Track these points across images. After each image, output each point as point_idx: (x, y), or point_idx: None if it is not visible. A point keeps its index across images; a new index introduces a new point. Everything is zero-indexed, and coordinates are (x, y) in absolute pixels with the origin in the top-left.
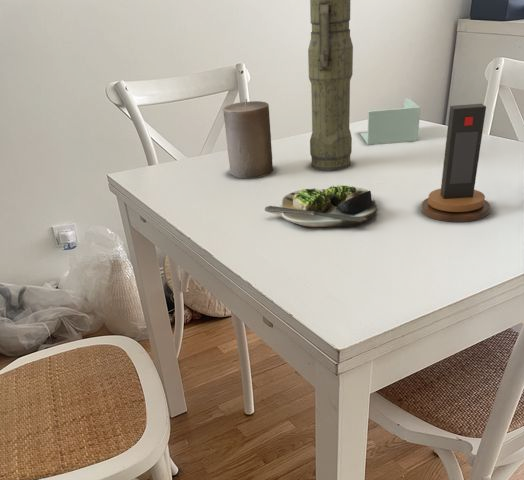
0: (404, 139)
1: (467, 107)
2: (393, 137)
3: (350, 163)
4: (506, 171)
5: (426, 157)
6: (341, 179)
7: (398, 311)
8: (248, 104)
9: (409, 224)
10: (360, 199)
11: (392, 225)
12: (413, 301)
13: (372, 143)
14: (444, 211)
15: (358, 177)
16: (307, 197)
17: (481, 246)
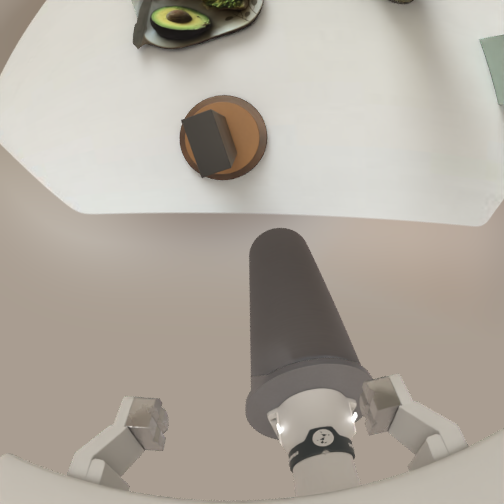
0: (496, 86)
1: (193, 143)
2: (494, 71)
3: (401, 3)
4: (385, 203)
5: (441, 104)
6: None
7: (12, 139)
8: None
9: (166, 92)
10: (157, 29)
11: (160, 74)
12: (23, 144)
13: (482, 44)
14: None
15: (345, 9)
16: None
17: (121, 177)
